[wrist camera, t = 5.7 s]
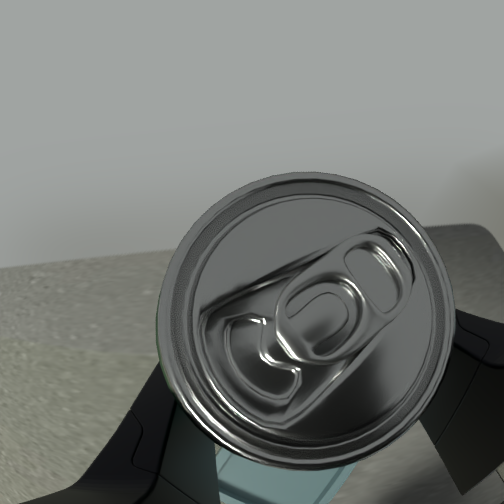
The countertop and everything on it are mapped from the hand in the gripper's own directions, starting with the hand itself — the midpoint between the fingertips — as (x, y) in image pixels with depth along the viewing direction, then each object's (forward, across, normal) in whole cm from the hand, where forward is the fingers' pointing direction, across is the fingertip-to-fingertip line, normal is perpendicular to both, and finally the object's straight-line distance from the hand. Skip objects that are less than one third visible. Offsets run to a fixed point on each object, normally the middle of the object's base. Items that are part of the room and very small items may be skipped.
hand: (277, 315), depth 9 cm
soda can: (+4, 0, +5) cm, 7 cm away
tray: (+2, +1, +16) cm, 16 cm away
